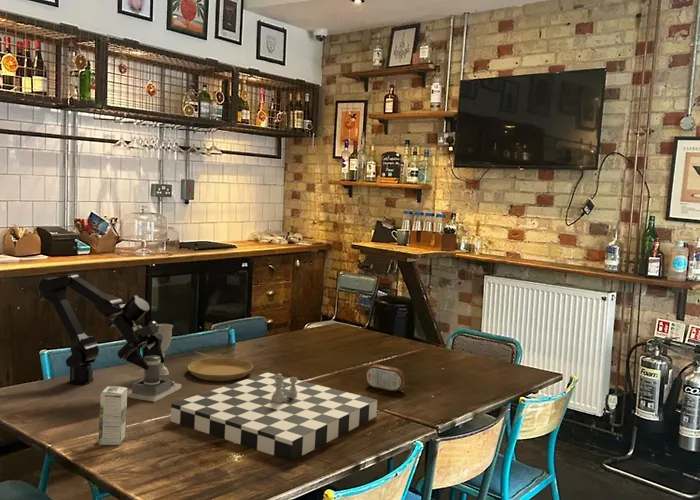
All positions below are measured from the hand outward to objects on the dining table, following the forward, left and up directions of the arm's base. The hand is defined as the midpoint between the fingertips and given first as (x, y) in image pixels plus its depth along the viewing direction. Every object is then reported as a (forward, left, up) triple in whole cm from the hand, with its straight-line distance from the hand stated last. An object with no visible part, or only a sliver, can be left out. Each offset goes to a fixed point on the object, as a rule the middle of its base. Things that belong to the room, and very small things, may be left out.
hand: (155, 365), depth 220 cm
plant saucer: (+13, +30, -10) cm, 34 cm away
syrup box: (+6, -41, -10) cm, 42 cm away
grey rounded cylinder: (-1, 0, -8) cm, 8 cm away
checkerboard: (+44, -11, -10) cm, 47 cm away
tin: (+75, +30, -10) cm, 81 cm away
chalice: (-7, +23, -10) cm, 26 cm away
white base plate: (-1, +2, -10) cm, 10 cm away
